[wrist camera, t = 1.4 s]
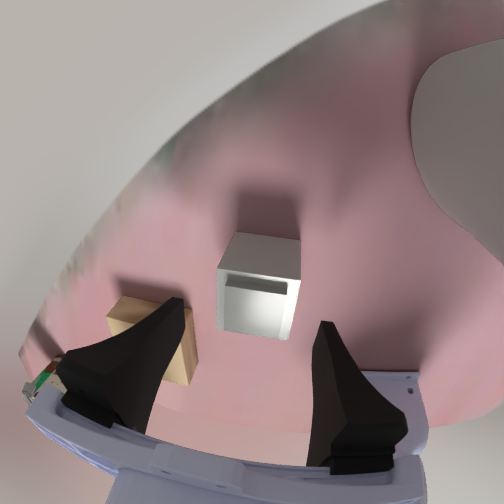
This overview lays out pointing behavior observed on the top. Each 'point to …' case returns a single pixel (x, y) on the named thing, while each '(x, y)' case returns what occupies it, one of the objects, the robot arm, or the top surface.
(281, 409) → the top surface
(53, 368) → the food container
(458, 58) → the cylinder vase
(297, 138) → the top surface
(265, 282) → the block
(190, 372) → the oak block
